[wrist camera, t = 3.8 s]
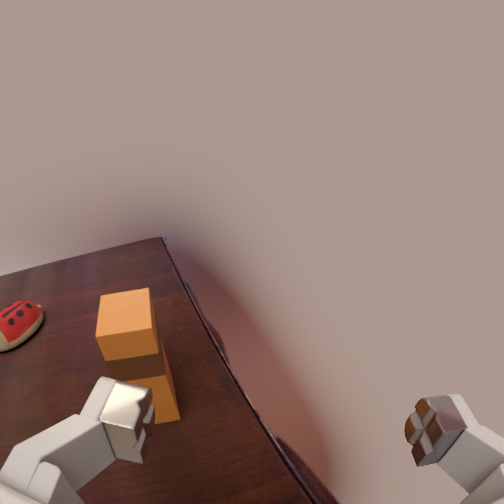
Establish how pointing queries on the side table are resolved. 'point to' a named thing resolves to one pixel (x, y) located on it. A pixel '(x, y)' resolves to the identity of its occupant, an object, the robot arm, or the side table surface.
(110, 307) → the granola carton
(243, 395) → the side table surface
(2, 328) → the ladybug figurine
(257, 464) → the side table surface
